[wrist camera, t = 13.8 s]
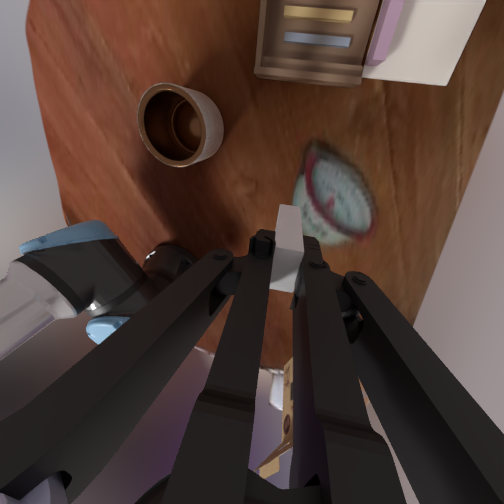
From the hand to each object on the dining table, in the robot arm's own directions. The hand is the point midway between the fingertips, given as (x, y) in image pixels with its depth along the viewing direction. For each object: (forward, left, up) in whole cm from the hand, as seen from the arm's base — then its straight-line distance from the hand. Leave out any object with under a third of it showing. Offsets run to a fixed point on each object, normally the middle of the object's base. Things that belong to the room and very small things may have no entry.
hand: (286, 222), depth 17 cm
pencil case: (0, +18, -27) cm, 33 cm away
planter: (-18, +4, -28) cm, 33 cm away
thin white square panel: (+14, +18, -28) cm, 36 cm away
